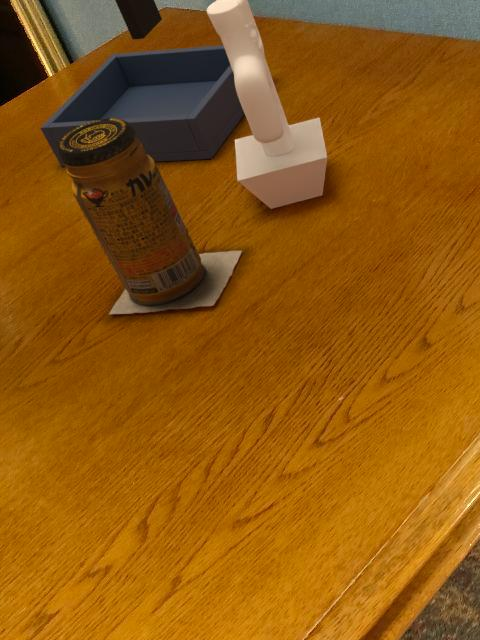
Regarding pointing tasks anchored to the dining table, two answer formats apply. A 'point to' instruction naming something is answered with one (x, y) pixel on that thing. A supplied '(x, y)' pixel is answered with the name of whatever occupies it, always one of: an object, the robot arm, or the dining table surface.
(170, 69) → the bin
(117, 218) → the condiment
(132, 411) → the dining table surface
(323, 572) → the dining table surface
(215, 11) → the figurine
